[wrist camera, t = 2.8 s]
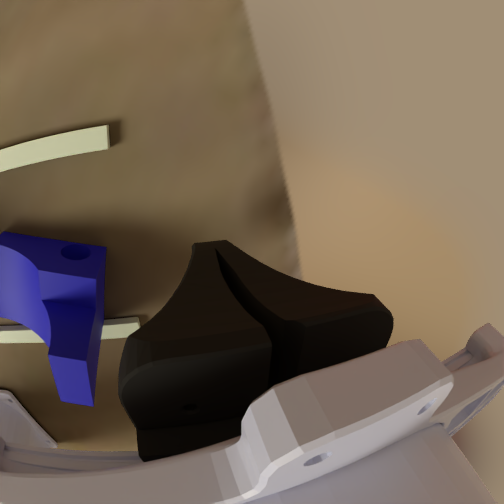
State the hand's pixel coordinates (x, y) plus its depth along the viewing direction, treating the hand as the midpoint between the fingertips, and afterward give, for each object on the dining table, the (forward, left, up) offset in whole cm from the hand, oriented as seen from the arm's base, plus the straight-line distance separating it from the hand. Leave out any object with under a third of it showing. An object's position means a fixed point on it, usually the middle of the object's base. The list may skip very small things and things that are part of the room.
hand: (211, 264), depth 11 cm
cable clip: (-1, +11, -3) cm, 12 cm away
